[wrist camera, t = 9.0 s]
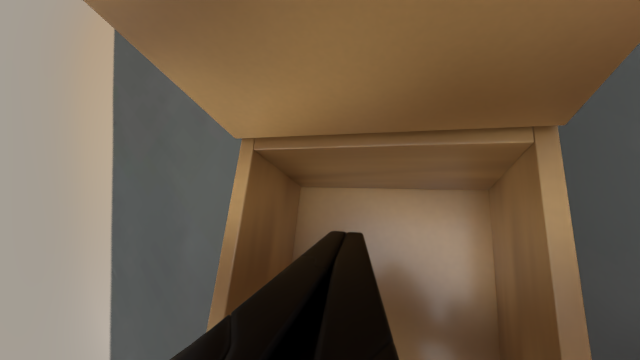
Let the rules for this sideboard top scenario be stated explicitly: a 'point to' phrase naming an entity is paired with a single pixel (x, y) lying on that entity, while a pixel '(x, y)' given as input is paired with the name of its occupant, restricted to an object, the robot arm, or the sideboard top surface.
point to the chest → (422, 234)
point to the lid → (380, 60)
